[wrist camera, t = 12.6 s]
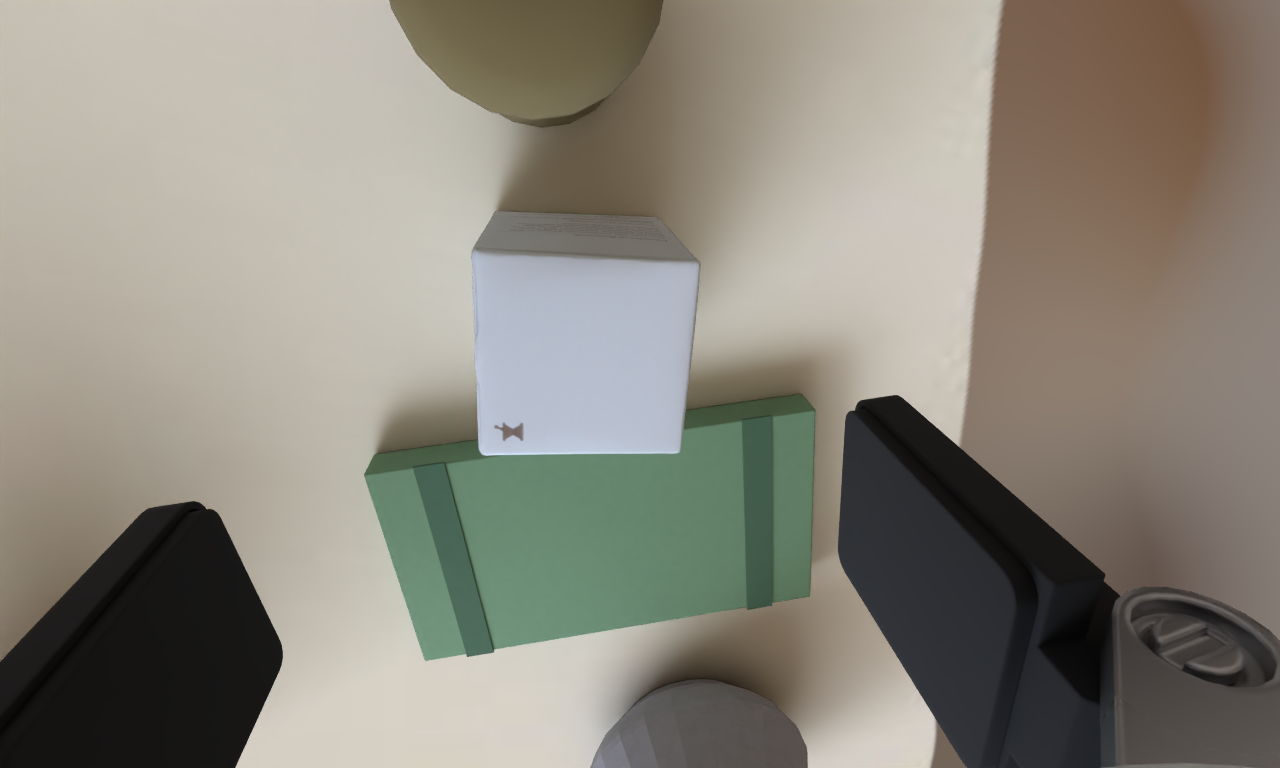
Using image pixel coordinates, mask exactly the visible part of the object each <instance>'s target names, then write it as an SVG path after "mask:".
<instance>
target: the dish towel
mask: <svg viewBox="0 0 1280 768" xmlns="http://www.w3.org/2000/svg"><path fill="white" fill-rule="evenodd" d="M815 412H816V410H815V409H814V408H813V406H812V405H811V404H810V403H809V402H808V401H807V399H806V398H805V397H804V396H803V395H802V394H798V395H791V396H784V397H777V398H770V399H763V400H755V401H748V402H741V403H734V404H727V405H720V406H713V407H706V408H699V409H692V410H686V412H685V420H684V428H683V436H682V444H681V450H680V452H679V453H674V454H668V453H652V454H538V455H489V456H486V455H483V454H481V452H480V451H479V446H478V440H473V441H465V442H458V443H451V444H444V445H437V446H430V447H423V448H416V449H409V450H402V451H395V452H388V453H381V454H375V455H374V456H373V458H372V460H371V462H370V464H369V466H368V468H367V470H366V472H365V474H364V476H365V479H366V482H367V485H368V488H369V491H370V494H371V497H372V501H373V504H374V507H375V510H376V513H377V516H378V519H379V522H380V525H381V528H382V531H383V534H384V537H385V540H386V543H387V546H388V549H389V552H390V555H391V559H392V562H393V565H394V568H395V571H396V574H397V577H398V580H399V583H400V586H401V589H402V592H403V595H404V598H405V601H406V604H407V607H408V610H409V614H410V617H411V620H412V623H413V626H414V629H415V632H416V635H417V638H418V641H419V644H420V647H421V650H422V653H423V656H424V659H425V661H428V660H434V659H440V658H446V657H452V656H457V655H463V654H466V655H467V657H469V656H475V655H481V654H487V653H493V652H494V649H499V648H505V647H511V646H517V645H523V644H529V643H535V642H541V641H547V640H553V639H559V638H565V637H571V636H577V635H583V634H589V633H595V632H601V631H607V630H613V629H619V628H625V627H631V626H637V625H643V624H649V623H654V622H660V621H666V620H672V619H678V618H684V617H690V616H696V615H702V614H708V613H714V612H720V611H726V610H732V609H738V608H744V607H747V610H749V609H755V608H761V607H767V606H772V603H774V602H780V601H786V600H792V599H798V598H804V597H809V596H810V581H811V547H812V513H813V479H814V446H815Z"/></svg>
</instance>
